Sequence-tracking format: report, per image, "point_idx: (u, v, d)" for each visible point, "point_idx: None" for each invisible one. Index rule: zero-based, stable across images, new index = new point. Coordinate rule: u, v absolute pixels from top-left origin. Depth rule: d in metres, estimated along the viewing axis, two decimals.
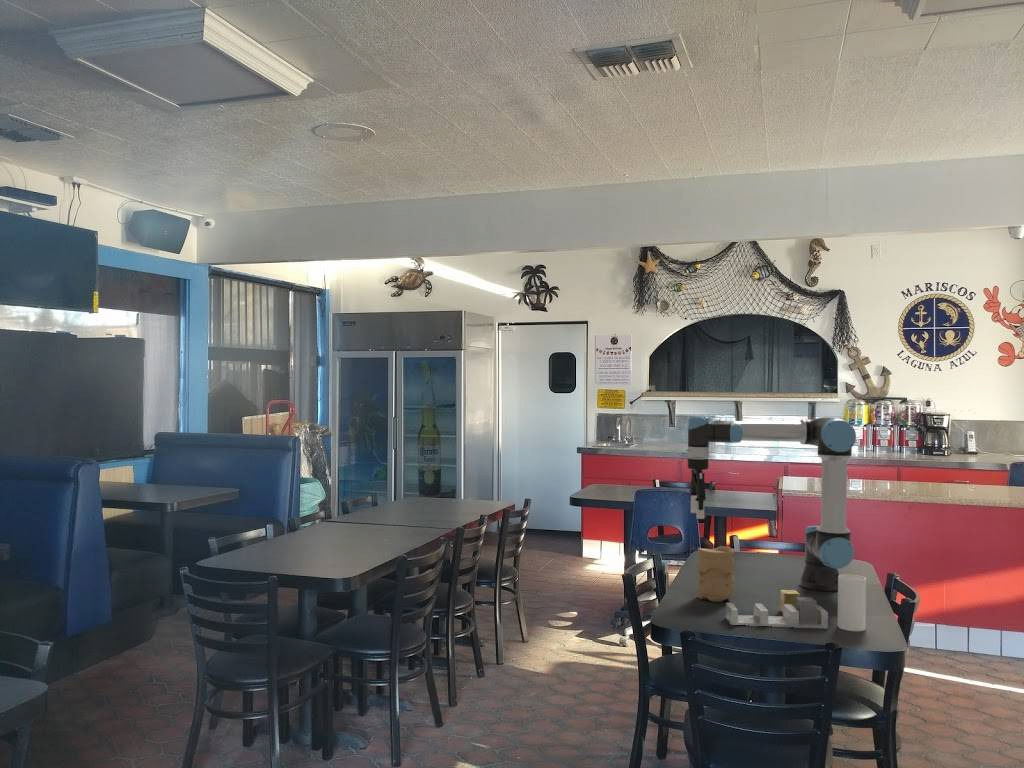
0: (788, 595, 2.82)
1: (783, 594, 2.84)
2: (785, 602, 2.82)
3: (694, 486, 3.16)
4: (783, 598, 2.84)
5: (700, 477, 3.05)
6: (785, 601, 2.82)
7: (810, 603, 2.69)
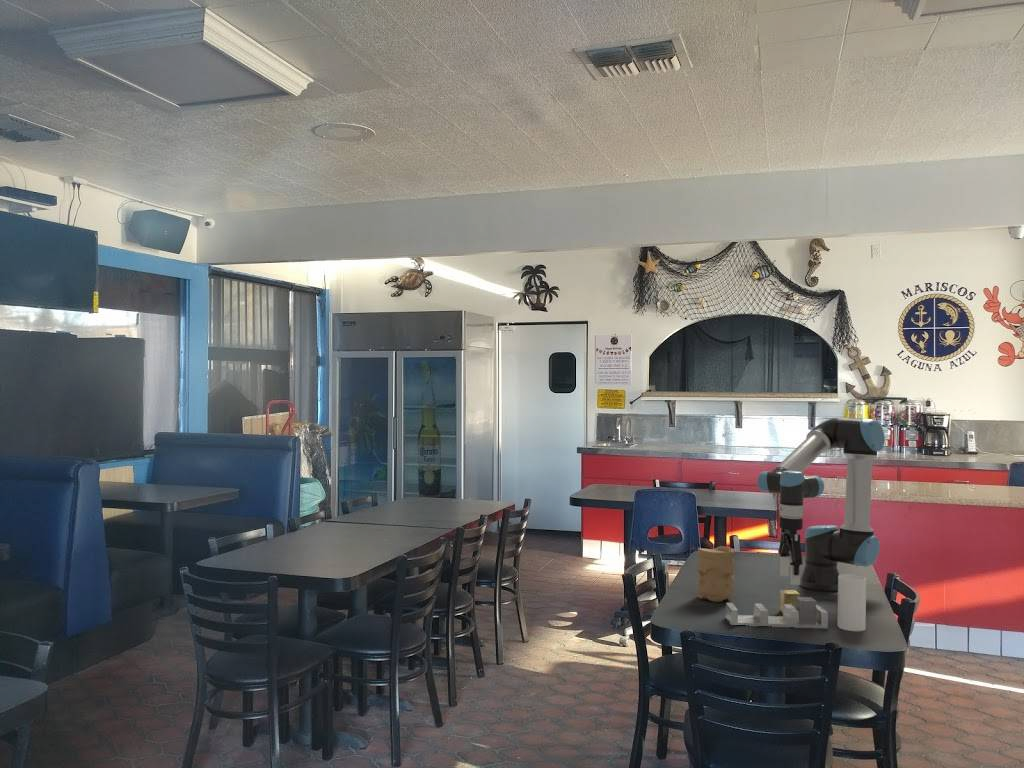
0: (788, 595, 2.82)
1: (783, 594, 2.84)
2: (785, 602, 2.82)
3: (785, 547, 2.89)
4: (783, 598, 2.84)
5: (795, 539, 2.78)
6: (785, 601, 2.82)
7: (810, 603, 2.69)
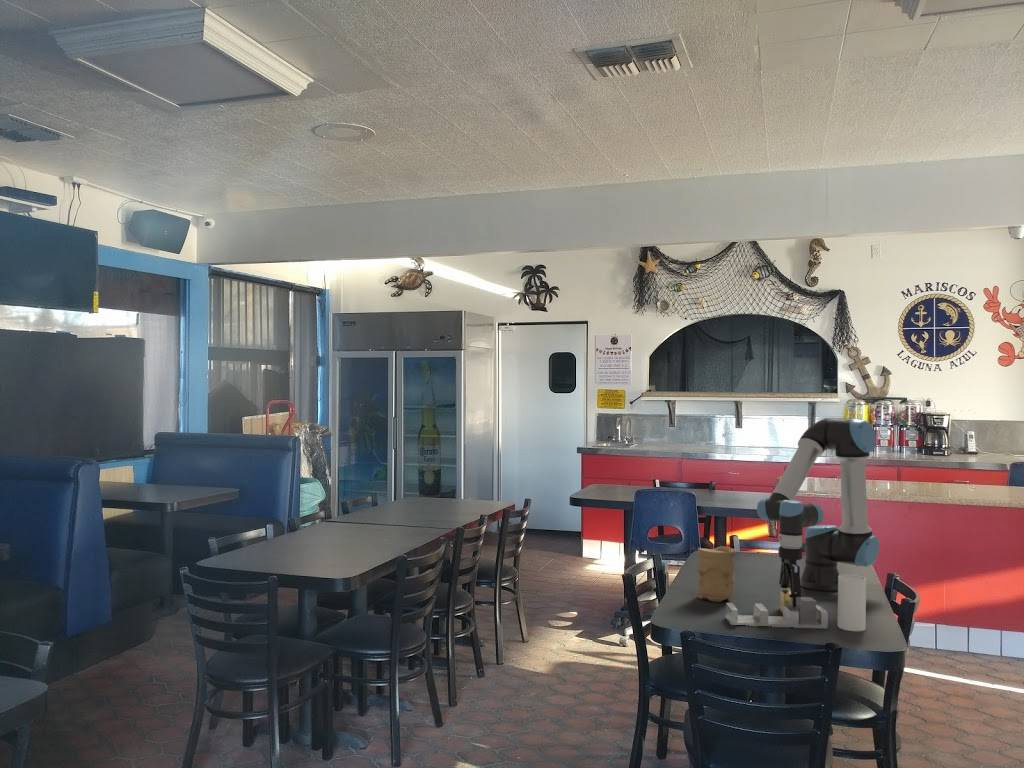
0: (788, 595, 2.82)
1: (783, 594, 2.84)
2: (785, 602, 2.82)
3: (785, 577, 2.89)
4: (783, 598, 2.84)
5: (795, 571, 2.78)
6: (785, 601, 2.82)
7: (810, 603, 2.69)
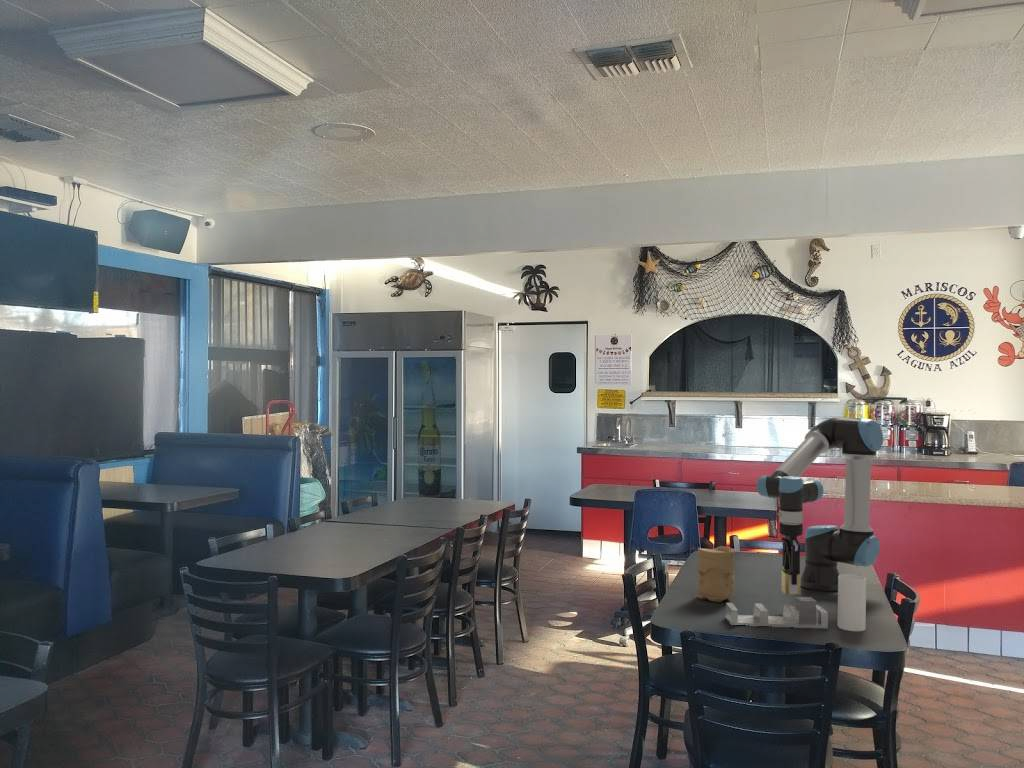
0: None
1: (784, 574, 2.84)
2: (786, 582, 2.83)
3: (787, 556, 2.87)
4: (784, 578, 2.84)
5: (795, 550, 2.79)
6: (786, 581, 2.83)
7: (810, 603, 2.69)
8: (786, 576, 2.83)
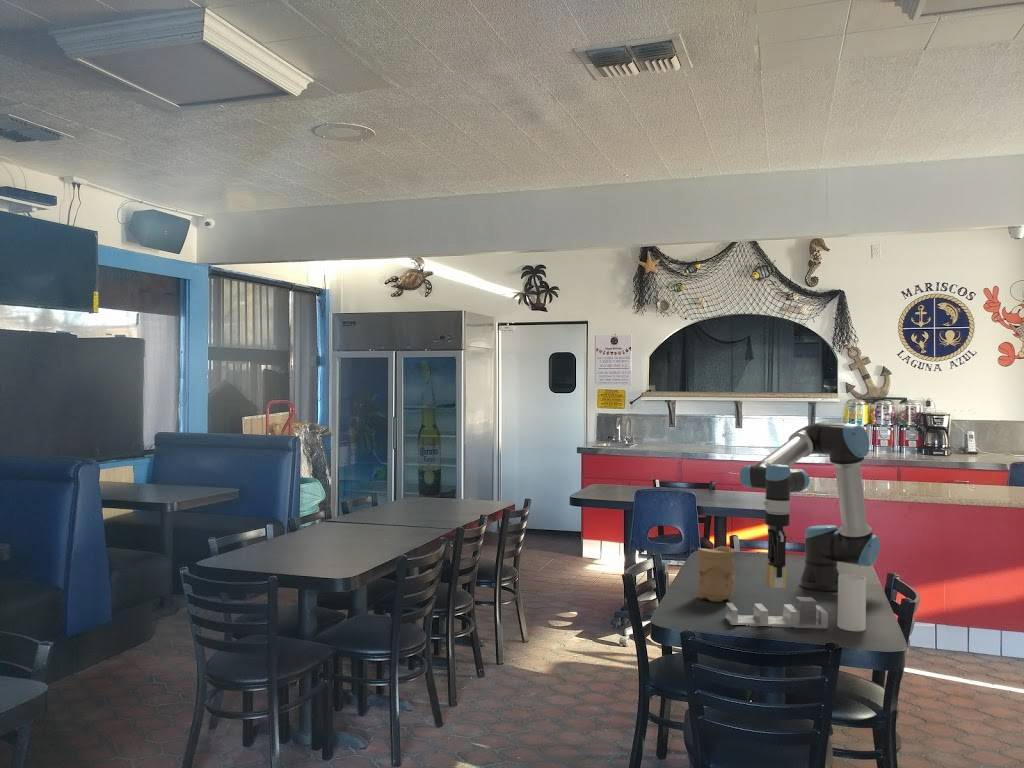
0: None
1: (769, 566, 2.70)
2: (771, 575, 2.69)
3: (773, 548, 2.74)
4: (769, 570, 2.70)
5: (781, 541, 2.65)
6: (771, 573, 2.69)
7: (810, 603, 2.69)
8: (771, 568, 2.69)
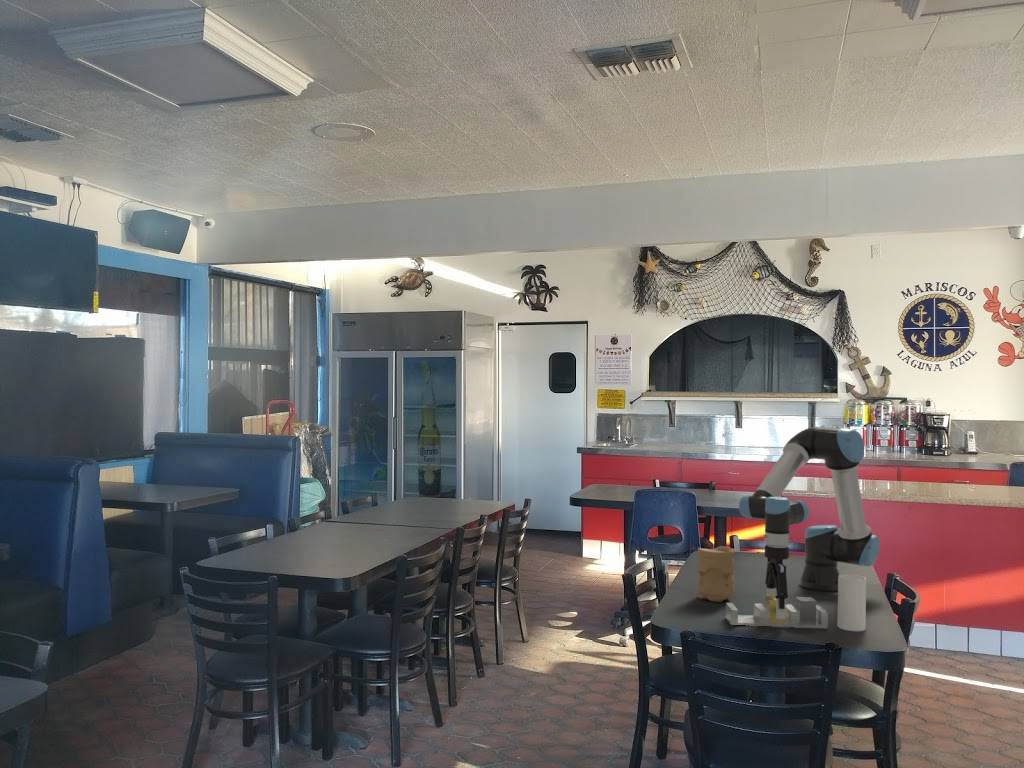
0: (774, 602, 2.69)
1: (768, 600, 2.71)
2: (771, 609, 2.69)
3: (771, 577, 2.76)
4: (768, 605, 2.71)
5: (781, 571, 2.65)
6: (771, 608, 2.69)
7: (810, 603, 2.69)
8: (771, 602, 2.69)
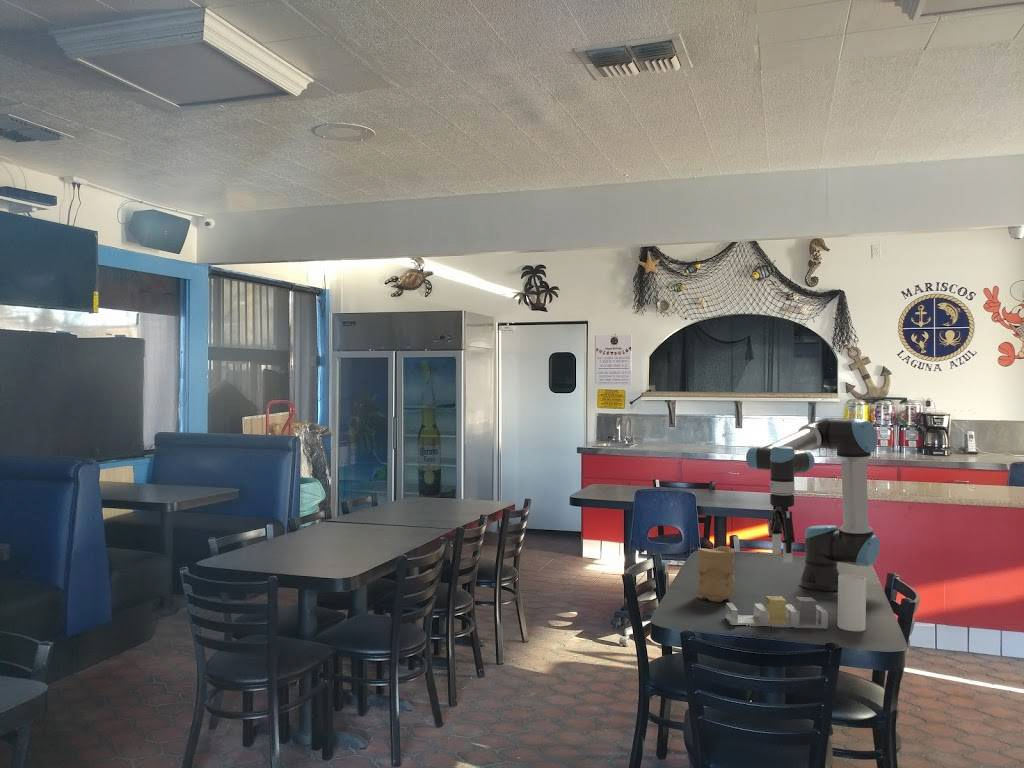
0: (774, 602, 2.69)
1: (768, 600, 2.71)
2: (771, 609, 2.69)
3: (777, 524, 2.82)
4: (768, 605, 2.71)
5: (787, 516, 2.71)
6: (771, 608, 2.69)
7: (810, 603, 2.69)
8: (771, 602, 2.69)
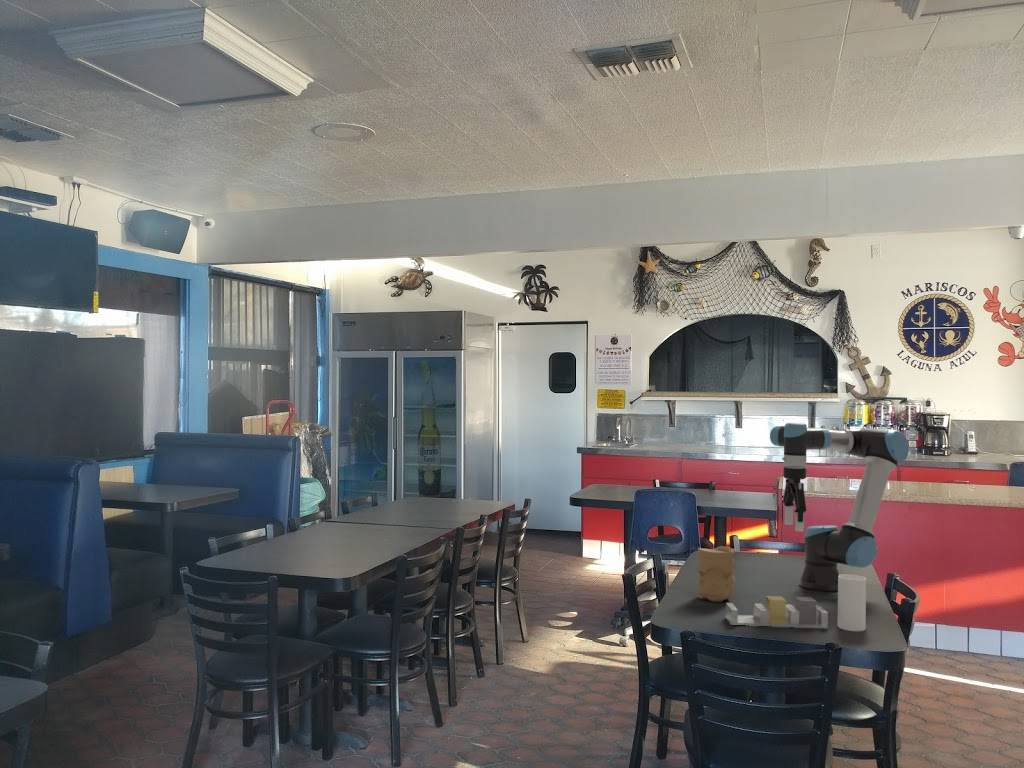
0: (774, 602, 2.69)
1: (768, 600, 2.71)
2: (771, 609, 2.69)
3: (789, 496, 3.00)
4: (768, 605, 2.71)
5: (799, 487, 2.89)
6: (771, 608, 2.69)
7: (810, 603, 2.69)
8: (771, 602, 2.69)
